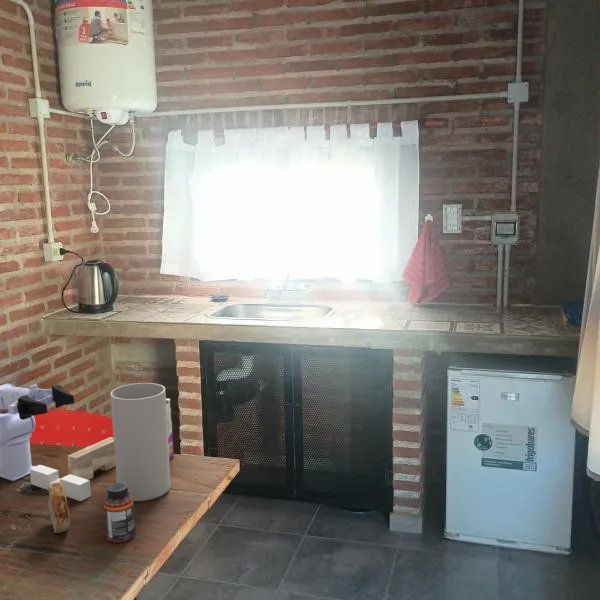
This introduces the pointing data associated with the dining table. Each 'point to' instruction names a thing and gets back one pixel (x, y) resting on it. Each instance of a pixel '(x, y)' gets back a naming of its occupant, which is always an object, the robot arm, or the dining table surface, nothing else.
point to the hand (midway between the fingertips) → (59, 403)
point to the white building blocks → (73, 484)
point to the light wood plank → (92, 459)
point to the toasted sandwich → (58, 507)
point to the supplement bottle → (119, 513)
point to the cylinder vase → (141, 439)
